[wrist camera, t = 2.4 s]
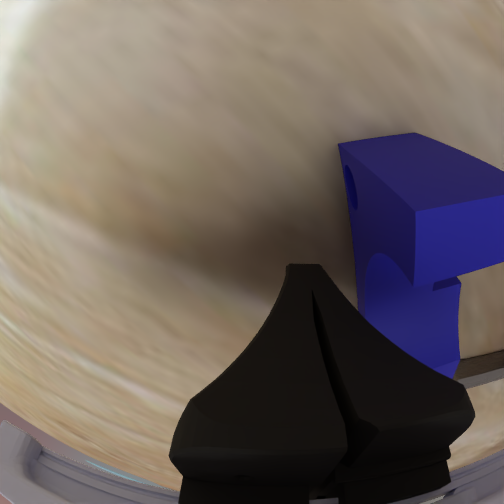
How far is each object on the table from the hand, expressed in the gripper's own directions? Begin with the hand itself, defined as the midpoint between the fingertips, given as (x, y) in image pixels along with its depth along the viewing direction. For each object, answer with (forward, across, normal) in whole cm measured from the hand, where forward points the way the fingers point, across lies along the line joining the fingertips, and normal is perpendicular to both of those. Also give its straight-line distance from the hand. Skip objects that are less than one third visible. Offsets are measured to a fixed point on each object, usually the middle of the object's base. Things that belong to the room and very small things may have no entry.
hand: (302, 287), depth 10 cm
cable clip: (+2, -5, 0) cm, 5 cm away
